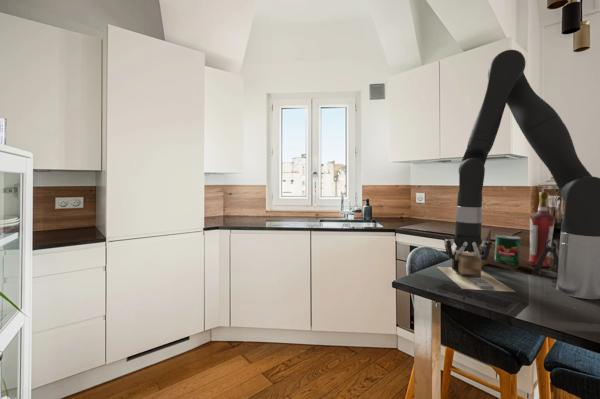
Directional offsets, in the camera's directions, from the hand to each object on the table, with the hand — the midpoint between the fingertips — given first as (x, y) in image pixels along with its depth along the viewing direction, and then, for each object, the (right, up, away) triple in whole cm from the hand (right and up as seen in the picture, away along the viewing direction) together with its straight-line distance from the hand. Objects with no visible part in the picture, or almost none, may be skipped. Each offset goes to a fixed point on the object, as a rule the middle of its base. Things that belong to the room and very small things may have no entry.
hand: (465, 271), depth 100 cm
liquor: (+36, -2, +15) cm, 39 cm away
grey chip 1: (-1, -1, -10) cm, 10 cm away
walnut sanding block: (0, -1, 0) cm, 1 cm away
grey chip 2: (-2, -1, -13) cm, 13 cm away
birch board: (-1, -2, -4) cm, 5 cm away
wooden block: (+10, -2, +11) cm, 15 cm away
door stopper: (+31, -2, +4) cm, 31 cm away
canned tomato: (+24, -1, +16) cm, 29 cm away
